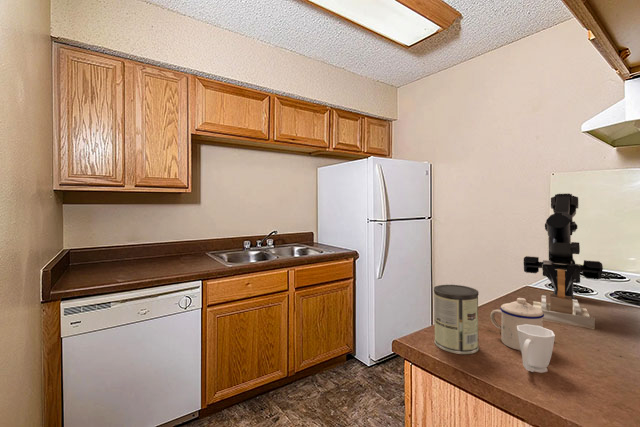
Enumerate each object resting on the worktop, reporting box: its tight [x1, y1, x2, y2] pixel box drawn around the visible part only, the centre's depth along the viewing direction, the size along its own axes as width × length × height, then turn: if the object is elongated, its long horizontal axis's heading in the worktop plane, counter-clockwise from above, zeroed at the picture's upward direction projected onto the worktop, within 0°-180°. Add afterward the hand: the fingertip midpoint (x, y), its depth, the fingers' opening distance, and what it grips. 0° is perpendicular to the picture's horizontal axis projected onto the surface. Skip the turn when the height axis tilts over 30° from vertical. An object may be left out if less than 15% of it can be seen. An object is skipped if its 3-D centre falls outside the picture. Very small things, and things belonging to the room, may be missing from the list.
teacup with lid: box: [489, 297, 544, 352], centre depth 77 cm, size 12×9×12 cm
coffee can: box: [433, 284, 480, 355], centre depth 76 cm, size 10×10×14 cm
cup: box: [517, 324, 556, 374], centre depth 64 cm, size 7×10×8 cm
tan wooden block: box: [549, 269, 573, 314], centre depth 90 cm, size 5×5×13 cm
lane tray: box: [532, 295, 596, 330], centre depth 94 cm, size 20×14×4 cm
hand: (561, 290), depth 88 cm, fingers closed on tan wooden block
